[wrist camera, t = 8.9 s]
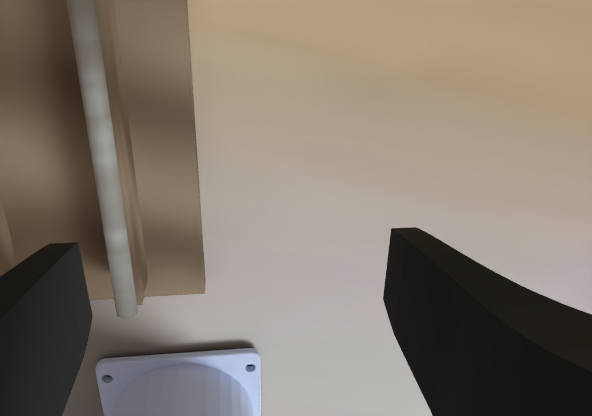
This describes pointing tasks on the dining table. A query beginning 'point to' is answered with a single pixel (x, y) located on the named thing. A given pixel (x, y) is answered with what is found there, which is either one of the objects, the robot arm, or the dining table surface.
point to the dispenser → (101, 143)
